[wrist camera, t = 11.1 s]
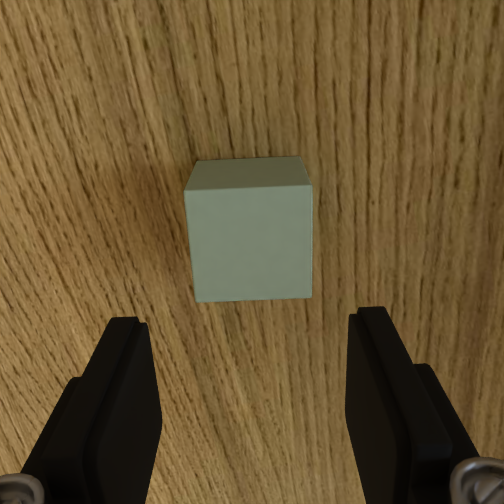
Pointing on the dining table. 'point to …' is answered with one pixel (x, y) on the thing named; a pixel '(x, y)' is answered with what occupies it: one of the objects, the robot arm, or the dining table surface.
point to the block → (250, 229)
